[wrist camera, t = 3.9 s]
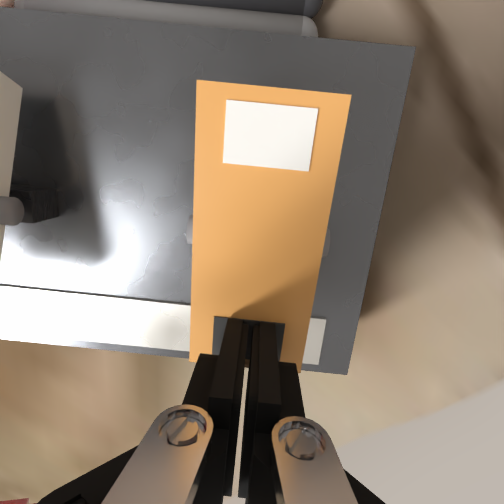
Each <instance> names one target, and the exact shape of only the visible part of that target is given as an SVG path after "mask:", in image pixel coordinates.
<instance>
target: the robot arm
mask: <svg viewBox="0 0 504 504" xmlns="http://www.w3.org/2000/svg"><path fill="white" fill-rule="evenodd" d="M248 326H249V324H243V320H241V319H231V318H228V319H227V323H226V328H225V332H224V336H223V340H222V344H221V348H220V353H219V355H213V354H204V353H200V354H199V357H198V360H197V363H196V366H195V368H194V371H193V374H192V377H191V380H190V383H189V386H188V389H187V392H186V394H185V397H184V400H183V403H182V405H177V406H174V407H171V408H168V409H166V410H165V411H163V412H162V413H160V415H159V416H158V417H157V418H156V419H155V420H154V422H153V424H152V425H151V427H150V428H149V430H148V431H147V433H146V435H145V436H144V438H143V439H142V441H141V442H140V444H139V445H138V446H136V447H134V448H132V449H130V450H129V451H127V452H125V453H123V454H121V455H119V456H117V457H116V458H114V459H112V460H110V461H108V462H106V463H104V464H103V465H101V466H99V467H97V468H95V469H93V470H91V471H90V472H88V473H86V474H84V475H82V476H80V477H78V478H76V479H75V480H73V481H71V482H69V483H67V484H65V485H63V486H62V487H60V488H58V489H56V490H54V491H53V492H51V493H50V494H48V495H47V496H45V497H44V498H42V499H41V500H40V501H39V502H38V503H35V504H222V503H223V496H231V495H232V485H233V475H234V466H235V456H236V446H237V437H238V427H239V417H240V408H241V398H242V388H243V377H244V367H245V357H246V346H247V336H248ZM238 497H240V498H246V502H245V504H385V503H384V502H383V501H382V500H380V499H379V498H378V497H377V496H376V495H375V494H373V493H372V492H371V491H370V490H369V489H367V488H366V487H365V486H364V485H363V484H361V483H360V482H359V481H358V480H356V479H355V478H354V477H353V476H352V475H350V474H349V473H348V472H347V471H345V470H344V469H343V467H342V464H341V462H340V460H339V457H338V455H337V453H336V450H335V448H334V445H333V443H332V440H331V438H330V437H329V435H328V433H327V432H326V431H325V430H324V429H323V428H322V427H321V426H320V425H319V424H317V423H316V422H314V421H313V420H310V419H307V418H305V413H304V407H303V401H302V395H301V389H300V383H299V377H298V371H297V366H296V363H289V362H280V361H278V352H277V338H276V325H275V323H269V322H260V325H259V326H258V325H253V334H252V343H251V353H250V362H249V371H248V381H247V390H246V400H245V413H244V426H243V439H242V452H241V464H240V477H239V490H238ZM0 504H30V503H29V498H25V499H17V500H8V501H0Z"/></svg>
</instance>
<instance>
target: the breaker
mask: <svg viewBox="0 0 504 504" xmlns="http://www.w3.org/2000/svg"><path fill="white" fill-rule="evenodd" d="M22 90H23V88H22V87H21V86H19V85H18V84H17V83H15V82H14V81H13V80H11V79H10V78H9V77H7V76H6V75H5V74H3V73H2V72H1V71H0V263H1V255H2V247H3V239H4V232H5V225H9V226H16V225H18V224H19V223H20V222H21V221H22V219H23V217H24V206H23V204H22V202H21V201H20V200H19V199H18V198H15V197H9V192H10V184H11V176H12V169H13V161H14V153H15V145H16V137H17V129H18V121H19V114H20V106H21V98H22Z"/></svg>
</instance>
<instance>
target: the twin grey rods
mask: <svg viewBox="0 0 504 504" xmlns="http://www.w3.org/2000/svg"><path fill="white" fill-rule="evenodd" d="M322 2H323V0H15V2H14V7H15V8H19V9H29V10H39V11H50V12H60V13H70V14H81V15H91V16H101V17H112V18H122V19H132V20H143V21H153V22H163V23H174V24H184V25H195V26H205V27H215V28H226V29H236V30H246V31H257V32H267V33H277V34H288V35H298V36H308V37H318V30H317V27H316V25H315V23H314V22H313V20H312V19H311V18H313V17H314V16H315V15H316V14H317V13H318V11H319V10H320V8H321V5H322Z"/></svg>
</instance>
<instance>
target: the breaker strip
mask: <svg viewBox="0 0 504 504" xmlns="http://www.w3.org/2000/svg"><path fill="white" fill-rule="evenodd" d="M415 49H416V47H412V46H402V45H391V44H381V43H371V42H360V41H350V40H339V39H329V38H319V37H308V36H298V35H288V34H277V33H267V32H257V31H246V30H236V29H226V28H215V27H205V26H195V25H184V24H174V23H163V22H153V21H143V20H132V19H122V18H112V17H101V16H91V15H81V14H70V13H60V12H50V11H39V10H29V9H19V8H8V7H0V71H1V72H2V73H3V74H5V75H6V76H7V77H9V78H10V79H11V80H13V81H14V82H15V83H17V84H18V85H19V86H21V87H22V88H23V90H22V98H21V106H20V114H19V121H18V129H17V137H16V145H15V153H14V161H13V169H12V176H11V184H10V192H9V197H15V198H18V199H19V200H20V201H21V202H22V204H23V206H24V217H23V219H22V221H21V222H20V223H19V224H18V225H16V226H9V225H5V232H4V239H3V247H2V255H1V263H0V339H5V340H15V341H25V342H34V343H44V344H54V345H63V346H73V347H83V348H92V349H102V350H112V351H121V352H131V353H140V354H150V355H160V356H169V357H179V358H189V353H190V315H191V276H192V244H188V243H187V239H186V230H187V223H188V219H189V216H190V215H193V199H194V161H195V123H196V84H197V80H205V81H216V82H226V83H236V84H246V85H257V86H267V87H277V88H287V89H298V90H308V91H318V92H328V93H338V94H349V95H352V96H351V101H350V106H349V112H348V117H347V123H346V128H345V134H344V139H343V144H342V150H341V155H340V161H339V166H338V171H337V177H336V182H335V188H334V193H333V199H332V204H331V209H330V215H329V220H328V226H327V229H329V230H330V247H329V252H328V255H327V257H322V258H321V264H320V269H319V275H318V280H317V285H316V291H315V296H314V302H313V307H312V313H311V318H310V323H309V329H308V334H307V340H306V345H305V351H304V356H303V361H302V367H301V370H305V371H314V372H324V373H334V374H343V375H347V373H348V368H349V363H350V358H351V354H352V349H353V344H354V339H355V335H356V330H357V325H358V320H359V316H360V311H361V306H362V301H363V297H364V292H365V287H366V282H367V278H368V273H369V268H370V263H371V259H372V254H373V249H374V244H375V239H376V235H377V230H378V225H379V220H380V216H381V211H382V206H383V201H384V197H385V192H386V187H387V182H388V178H389V173H390V168H391V163H392V159H393V154H394V149H395V144H396V140H397V135H398V130H399V125H400V120H401V116H402V111H403V106H404V101H405V97H406V92H407V87H408V82H409V78H410V73H411V68H412V63H413V59H414V54H415Z"/></svg>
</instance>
